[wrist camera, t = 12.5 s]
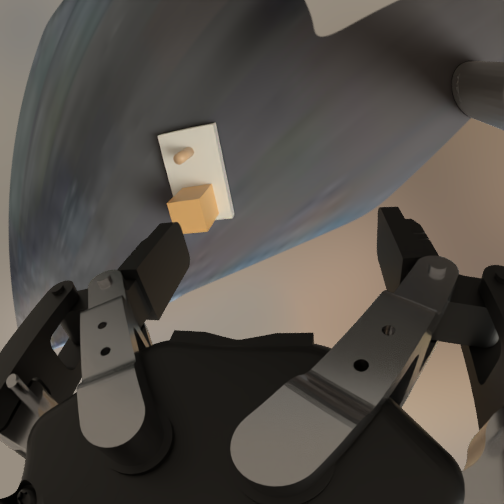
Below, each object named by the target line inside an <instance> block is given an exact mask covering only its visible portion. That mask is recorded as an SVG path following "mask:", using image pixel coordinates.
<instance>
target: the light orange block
mask: <svg viewBox="0 0 504 504" xmlns="http://www.w3.org/2000/svg"><path fill="white" fill-rule="evenodd" d="M167 206H168V209H169V212H170V216H171V219H172V222H178V223H179V224H180V226H181V229H182V232H183V234H186V233H197V232H208V230H209V229H210V227H211V226H212V224H213V222H214V221H215V219H216V218H217V216H218V214H219V211H218V207H217V203H216V199H215V195H214V190H213V186H212V184H207V185H200V186H193V187H186V188H182V189H181V190H180V191H179V192H178V193H177V194H176V195H175V196H174V197H173V198H172V199H171V200H170V201H169V202H168V203H167Z"/></svg>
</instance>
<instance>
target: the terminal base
mask: <svg viewBox="0 0 504 504" xmlns="http://www.w3.org/2000/svg"><path fill="white" fill-rule="evenodd" d="M158 140H159V144H160V148H161V152H162V156H163V160H164V164H165V168H166V172H167V176H168V179H169V183H170V187H171V190H172V194H173V197H174V196H175V195H176V194H177V193H178V192H179V191H180V190H181V189H182V188H186V187H193V186H200V185H207V184H212V186H213V190H214V195H215V199H216V203H217V207H218V211H219V214H218V216H217V218H216V219H215V220H219V219H231V218H233V216H234V209H233V205H232V200H231V195H230V190H229V185H228V180H227V176H226V171H225V166H224V161H223V156H222V151H221V146H220V141H219V137H218V132H217V127H216V123H211V124H205V125H200V126H195V127H190V128H186V129H181V130H176V131H172V132H168V133H163V134H160V135H158Z"/></svg>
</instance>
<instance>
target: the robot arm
mask: <svg viewBox="0 0 504 504" xmlns="http://www.w3.org/2000/svg"><path fill="white" fill-rule="evenodd" d="M452 92H453V96H454V99H455V101H456V103H457V105H458V106H459V108H460V109H461V110H462V111H463V112H464V113H465V114H466V115H467V116H469V117H471V118H474V119H476V120H479V121H481V122H484V123H486V124H489V125H492V126H494V127H497V128H499V129H502V130H504V62H484V61H470V62H465V63H462V64H461V65H459V66H458V67H457V69H456V70H455V72H454V74H453V78H452ZM377 255H378V261H379V264H380V268H381V271H382V275H383V278H384V281H385V285H386V289H387V290H385V291H383V292H382V293H381V294H380V296H378V298H377V299H376V300H375V301H374V302H373V303H372V305H371V306H370V307H369V308H368V309H367V310H366V312H365V313H364V314H363V315H362V316H361V317H360V318H359V319H358V321H357V322H356V323H355V324H354V325H353V326H352V327H351V328H350V329H349V331H348V332H347V333H346V334H345V335H344V336H343V337H342V338H341V339H340V340H339V341H338V342H337V344H335V346H334V347H333V348H332V349H331V348H329V347H325V346H322V345H317V344H314V335H313V333H275V334H271V335H265V336H259V337H254V338H248V339H243V340H235V339H230V338H226V337H222V336H218V335H215V334H211V333H207V332H194V331H193V332H192V331H176V330H175V331H174V333H173V334H172V336H171V339H170V340H169V341H164V342H160V343H156V344H154V345H153V344H152V341H151V338H150V335H149V332H148V329H147V327H146V325H145V323H144V322H145V320H159V319H160V317H161V316H162V314H163V312H164V310H165V308H166V306H167V305H168V303H169V301H170V299H171V298H172V296H173V294H174V292H175V291H176V289H177V287H178V285H179V284H180V282H181V280H182V278H183V277H184V275H185V273H186V272H187V270H188V268H189V264H190V256H189V252H188V249H187V245H186V242H185V239H184V235H183V232H182V229H181V226H180V224H179V223H178V222H170V223H161V224H159V225H158V226H157V228H156V229H155V230H154V231H153V232H152V233H151V234H150V235H149V237H148V238H146V239H145V240H143V241H142V242H141V243H140V244H139V245H138V246H137V247H136V250H134V251H133V252H132V253H131V255H130V256H129V257H128V258H127V259H126V260H125V261H124V263H123V264H122V265H121V266H120V267H119V268H118V270H108V271H105V272H103V273H101V274H99V275H97V276H96V277H95V278H93V279H92V280H91V282H90V283H89V285H88V289H84V290H80V291H77V290H76V288H75V286H74V284H73V282H72V281H63V282H61V283H58V284H56V285H55V286H53V287H52V288H51V289H50V290H49V291H48V292H47V293H46V294H45V296H44V297H43V298H42V299H41V300H40V302H39V303H38V304H37V305H36V306H35V308H34V309H33V310H32V311H31V313H30V314H29V315H28V316H27V318H26V319H25V320H24V321H23V323H22V324H21V325H20V327H19V328H18V329H17V331H16V332H15V333H14V334H13V336H12V337H11V338H10V340H9V341H8V343H7V344H6V345H5V347H4V348H3V349H2V351H1V353H0V441H1V442H3V443H4V444H5V445H6V446H8V447H9V448H10V449H12V450H14V451H16V452H17V453H18V454H20V455H21V456H22V457H24V458H25V459H26V460H25V467H24V472H23V476H22V481H21V483H20V485H19V487H18V489H17V491H16V492H15V493H14V494H12V495H11V496H8V497H6V498H2V499H0V504H504V266H499V265H491V266H488V267H486V268H485V269H484V271H483V275H482V278H475V277H468V276H463V275H459V270H458V268H457V266H456V265H455V264H454V263H453V262H452V261H450V260H448V259H447V258H444V257H441V256H439V255H438V253H437V252H436V250H435V248H434V247H433V245H432V243H431V242H430V240H429V238H428V237H427V235H426V234H425V232H424V230H423V228H422V227H421V225H420V224H418V223H416V222H415V221H414V220H412V219H405V218H404V216H403V215H402V213H401V211H400V210H399V208H398V207H380V208H379V210H378V230H377ZM59 324H61V326H62V327H63V329H64V330H65V332H66V333H67V335H68V336H69V339H68V341H67V342H66V344H65V345H64V347H63V348H62V350H61V352H60V353H59V355H58V356H57V355H56V353H55V352H54V350H53V349H52V347H51V343H50V340H51V336H52V334H53V333H54V332H55V330H56V329H57V327H58V326H59ZM439 341H442V342H448V343H455V344H461V348H462V352H463V355H464V359H465V363H466V367H467V371H468V375H469V379H470V383H471V387H472V393H473V397H474V402H475V407H476V413H477V419H478V425H479V432H478V433H477V434H476V435H475V436H474V437H473V439H472V440H471V442H470V444H469V447H468V451H467V462H466V465H465V468H464V470H463V471H461V469H460V467H459V465H458V464H457V462H456V461H455V459H454V458H453V457H452V456H451V455H450V454H449V453H448V452H447V451H446V450H445V449H444V448H443V447H442V446H441V445H440V444H439V443H437V442H436V441H435V440H434V439H433V438H432V437H431V436H430V435H429V434H428V433H427V432H426V431H425V430H424V429H423V428H422V427H421V426H420V425H419V424H418V423H416V422H415V421H414V420H413V419H412V418H411V417H410V416H409V415H408V414H407V413H406V412H405V411H404V410H403V409H402V406H403V404H404V403H405V401H406V399H407V398H408V396H409V394H410V392H411V390H412V388H413V386H414V384H415V383H416V381H417V379H418V378H419V376H420V374H421V372H422V371H423V369H424V367H425V365H426V364H427V362H428V360H429V359H430V357H431V355H432V353H433V351H434V349H435V347H436V346H437V344H438V342H439ZM81 378H82V383H80V384H79V385H78V383H79V382H80V380H81ZM77 385H78V386H77ZM76 387H77V392H76V393H75V394H73V393H74V391H75V389H76Z"/></svg>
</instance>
